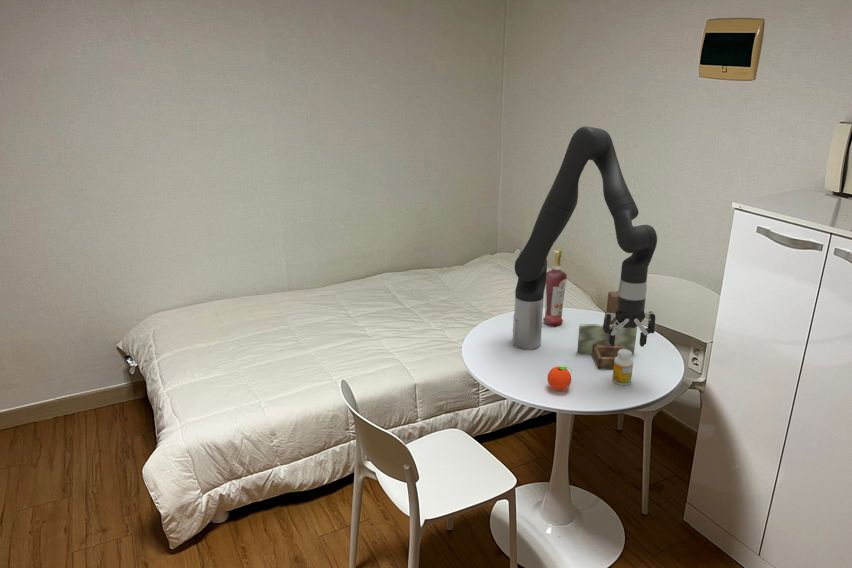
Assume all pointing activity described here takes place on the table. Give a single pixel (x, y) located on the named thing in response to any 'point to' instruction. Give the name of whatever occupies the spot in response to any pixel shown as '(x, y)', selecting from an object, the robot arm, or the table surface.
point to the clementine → (559, 378)
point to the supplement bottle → (623, 367)
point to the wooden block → (612, 304)
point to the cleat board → (604, 343)
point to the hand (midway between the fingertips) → (626, 345)
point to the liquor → (555, 291)
